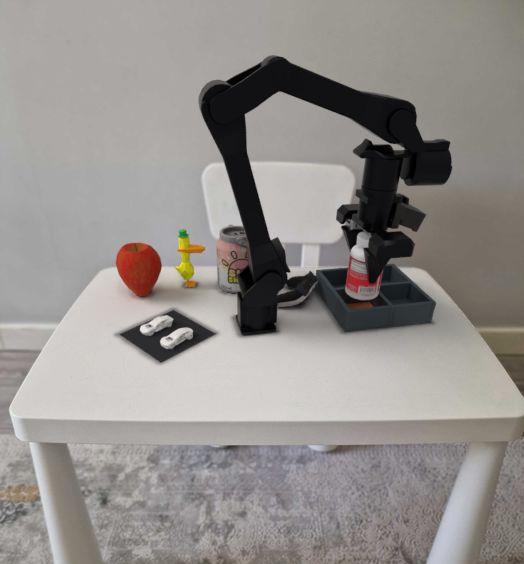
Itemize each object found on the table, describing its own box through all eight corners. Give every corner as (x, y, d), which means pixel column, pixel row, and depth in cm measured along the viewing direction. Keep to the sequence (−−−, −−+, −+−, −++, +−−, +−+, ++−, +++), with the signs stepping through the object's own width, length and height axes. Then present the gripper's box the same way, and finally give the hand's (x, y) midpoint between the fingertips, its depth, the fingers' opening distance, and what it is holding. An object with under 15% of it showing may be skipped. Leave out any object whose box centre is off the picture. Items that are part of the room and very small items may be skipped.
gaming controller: (281, 319, 89) (308, 303, 85) (267, 302, 89) (293, 284, 84) (299, 295, 98) (323, 279, 93) (286, 279, 97) (310, 262, 92)
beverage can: (255, 274, 101) (256, 221, 94) (265, 292, 94) (267, 236, 87) (214, 279, 99) (211, 225, 92) (222, 297, 92) (220, 240, 85)
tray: (344, 332, 82) (347, 311, 80) (314, 288, 96) (316, 269, 94) (431, 322, 86) (436, 302, 83) (389, 281, 99) (393, 263, 97)
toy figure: (208, 281, 98) (205, 227, 91) (206, 289, 95) (203, 234, 88) (176, 281, 98) (171, 226, 91) (174, 288, 95) (168, 233, 88)
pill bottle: (359, 282, 87) (369, 226, 81) (385, 294, 84) (397, 237, 77) (337, 291, 84) (345, 234, 78) (363, 304, 80) (373, 245, 74)
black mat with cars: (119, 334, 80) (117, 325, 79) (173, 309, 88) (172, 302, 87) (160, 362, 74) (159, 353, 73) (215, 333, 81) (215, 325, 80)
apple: (167, 284, 96) (161, 235, 90) (161, 304, 89) (154, 252, 83) (126, 284, 96) (118, 235, 90) (117, 304, 89) (107, 252, 83)
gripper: (457, 201, 67) (431, 295, 76) (398, 170, 82) (383, 251, 91) (387, 205, 65) (370, 301, 74) (340, 172, 79) (330, 255, 88)
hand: (364, 275), depth 82 cm, fingers closed on pill bottle, 6 cm apart
